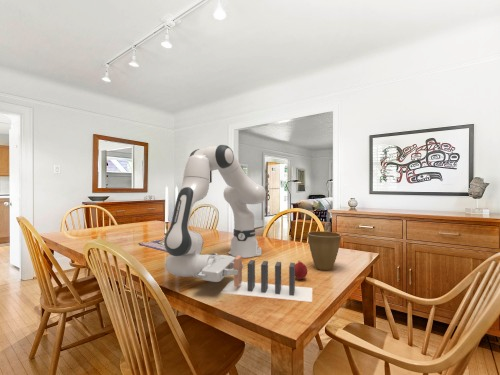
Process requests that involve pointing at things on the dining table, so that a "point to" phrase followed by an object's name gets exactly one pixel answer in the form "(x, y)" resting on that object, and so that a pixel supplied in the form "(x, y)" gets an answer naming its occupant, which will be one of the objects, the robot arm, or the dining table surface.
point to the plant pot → (324, 248)
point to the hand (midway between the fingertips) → (240, 269)
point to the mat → (269, 291)
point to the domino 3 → (278, 278)
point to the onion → (300, 270)
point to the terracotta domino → (238, 266)
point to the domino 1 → (251, 275)
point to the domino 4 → (292, 279)
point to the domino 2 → (264, 276)
